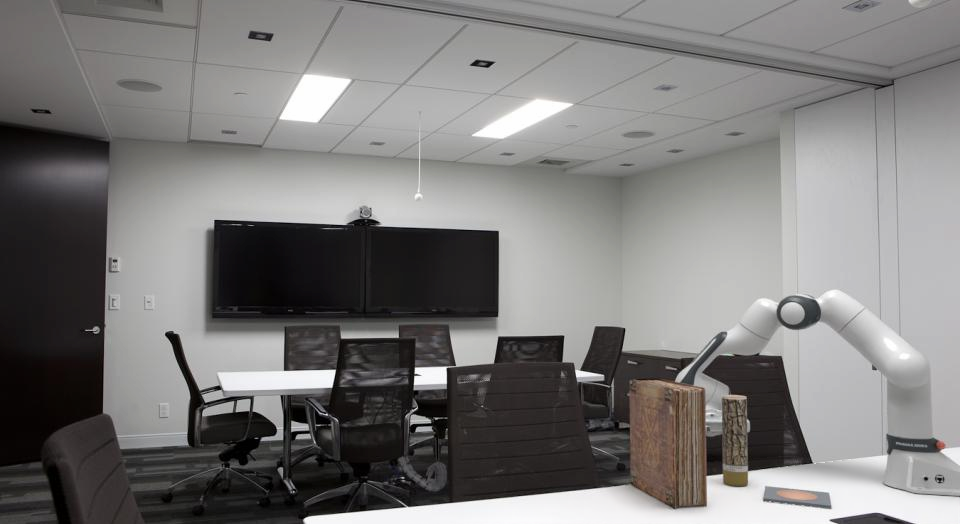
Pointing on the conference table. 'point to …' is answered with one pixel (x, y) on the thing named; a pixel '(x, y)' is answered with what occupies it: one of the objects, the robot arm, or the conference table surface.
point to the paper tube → (734, 440)
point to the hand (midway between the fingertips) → (723, 429)
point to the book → (668, 441)
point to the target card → (797, 497)
